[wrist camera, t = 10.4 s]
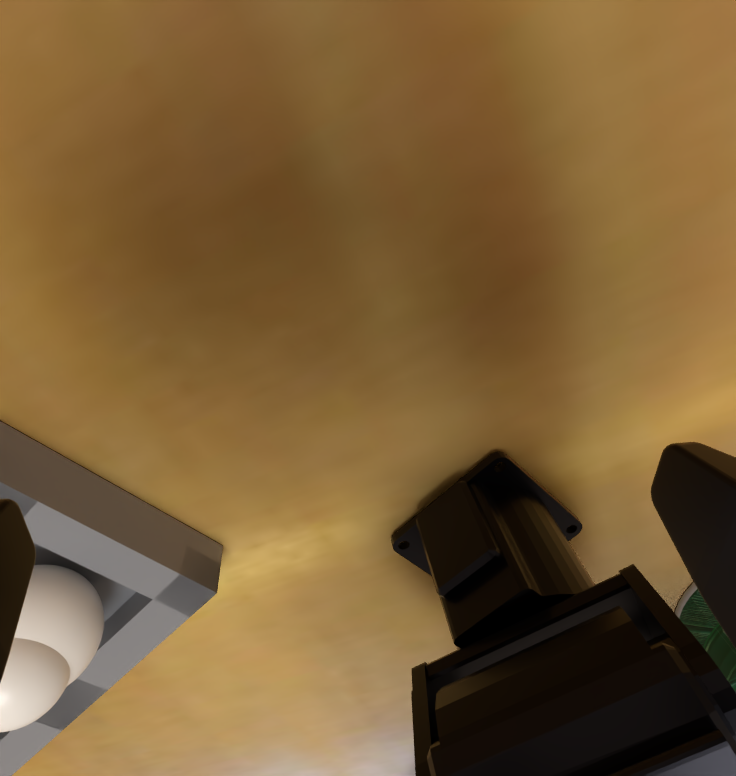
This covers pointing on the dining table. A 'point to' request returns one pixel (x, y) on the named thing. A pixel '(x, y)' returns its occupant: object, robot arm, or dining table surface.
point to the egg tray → (111, 563)
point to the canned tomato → (707, 632)
